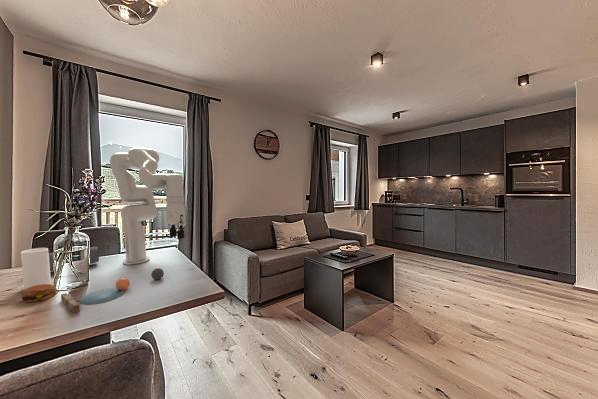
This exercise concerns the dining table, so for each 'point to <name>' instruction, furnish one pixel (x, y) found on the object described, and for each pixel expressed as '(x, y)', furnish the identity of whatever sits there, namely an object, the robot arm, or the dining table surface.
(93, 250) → the bluetooth speaker
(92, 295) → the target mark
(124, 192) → the robot arm
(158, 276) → the dark grey sphere
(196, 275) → the dining table surface
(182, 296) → the dining table surface
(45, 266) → the cup
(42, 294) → the burger
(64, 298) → the stopper wall
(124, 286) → the object ball
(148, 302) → the dining table surface
